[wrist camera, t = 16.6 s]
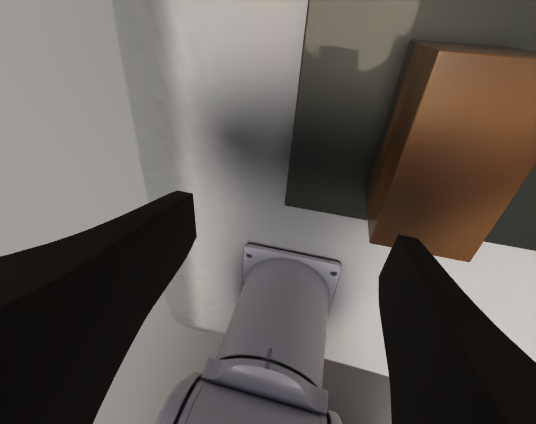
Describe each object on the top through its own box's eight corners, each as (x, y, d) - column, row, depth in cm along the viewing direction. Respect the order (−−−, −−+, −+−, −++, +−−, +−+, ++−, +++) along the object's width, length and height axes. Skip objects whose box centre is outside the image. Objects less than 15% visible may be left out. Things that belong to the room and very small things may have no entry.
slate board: (686, 267, 17) (707, 282, 16) (287, 196, 20) (284, 205, 19) (1008, 23, 10) (1080, 24, 9) (313, -19, 13) (310, -22, 12)
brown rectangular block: (440, 203, 17) (469, 262, 13) (364, 191, 17) (369, 243, 13) (518, 48, 12) (603, 63, 8) (410, 39, 13) (439, 49, 9)
